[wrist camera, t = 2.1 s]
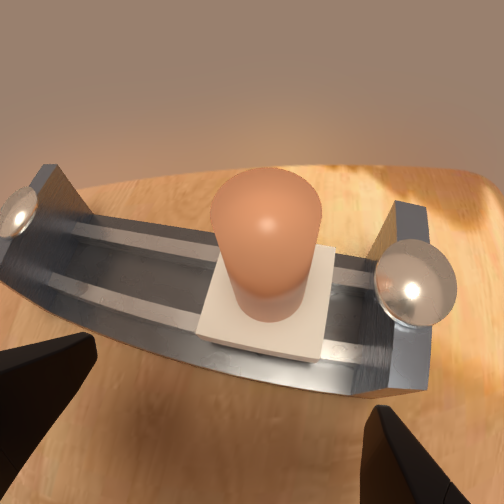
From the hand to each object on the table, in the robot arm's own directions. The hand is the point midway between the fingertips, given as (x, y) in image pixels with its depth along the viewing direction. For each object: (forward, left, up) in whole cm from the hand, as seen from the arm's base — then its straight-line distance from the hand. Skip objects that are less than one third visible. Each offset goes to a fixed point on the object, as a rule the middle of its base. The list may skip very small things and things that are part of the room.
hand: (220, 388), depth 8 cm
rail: (+2, +8, -12) cm, 15 cm away
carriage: (+5, +3, -9) cm, 11 cm away
